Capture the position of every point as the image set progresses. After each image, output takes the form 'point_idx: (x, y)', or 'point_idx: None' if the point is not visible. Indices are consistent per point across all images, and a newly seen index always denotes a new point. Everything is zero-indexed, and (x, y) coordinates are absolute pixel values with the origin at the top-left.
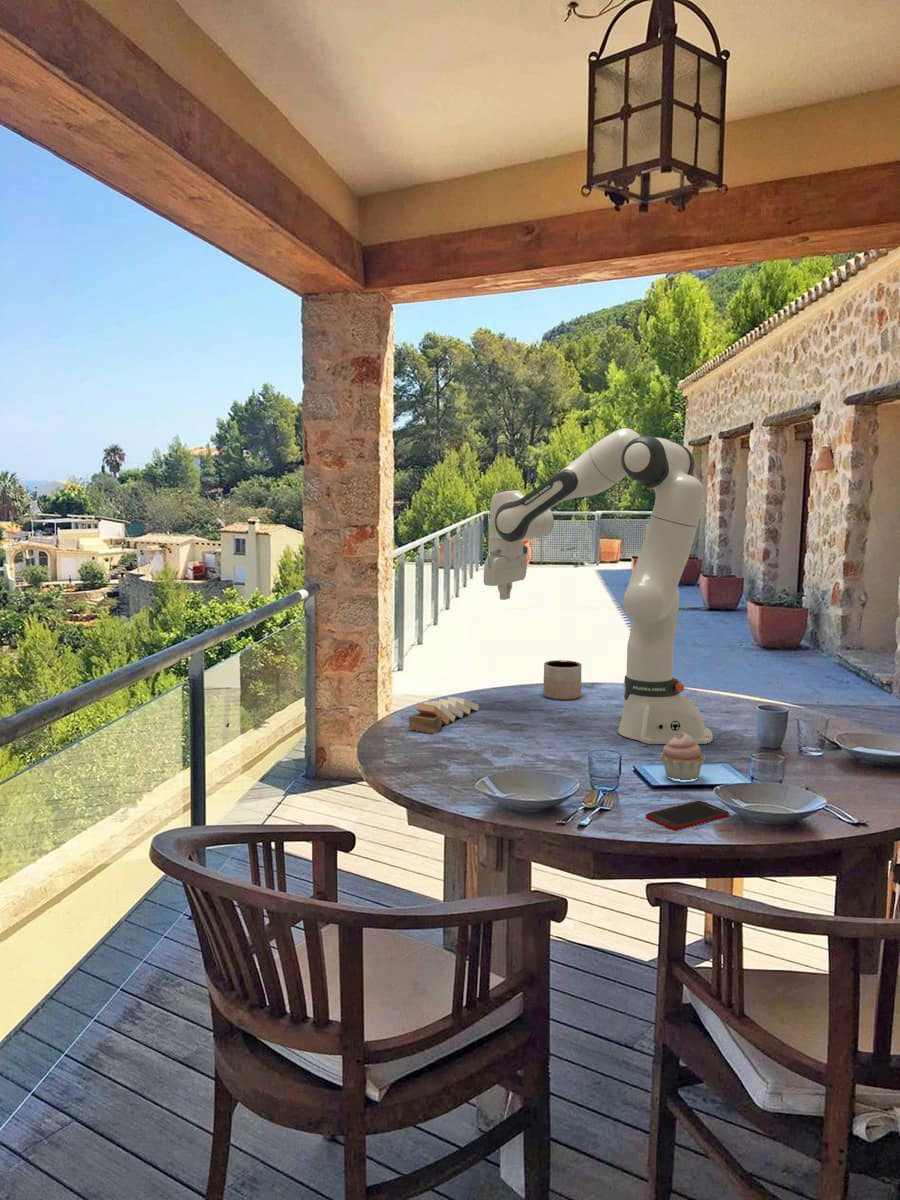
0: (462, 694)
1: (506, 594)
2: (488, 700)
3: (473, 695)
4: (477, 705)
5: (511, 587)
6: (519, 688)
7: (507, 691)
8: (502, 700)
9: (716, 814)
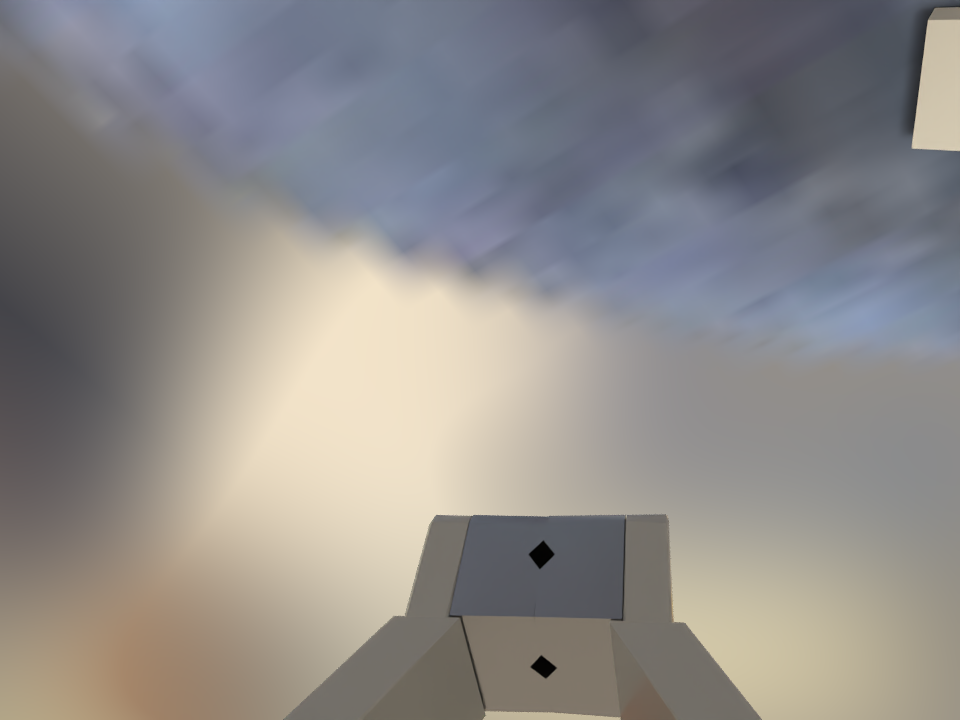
0: (585, 305)
1: (614, 595)
2: (628, 108)
3: (569, 246)
4: (955, 16)
5: (315, 715)
6: (234, 120)
7: (349, 138)
8: (574, 31)
9: None
